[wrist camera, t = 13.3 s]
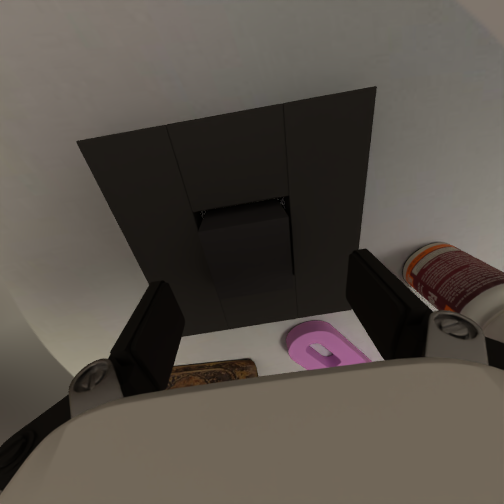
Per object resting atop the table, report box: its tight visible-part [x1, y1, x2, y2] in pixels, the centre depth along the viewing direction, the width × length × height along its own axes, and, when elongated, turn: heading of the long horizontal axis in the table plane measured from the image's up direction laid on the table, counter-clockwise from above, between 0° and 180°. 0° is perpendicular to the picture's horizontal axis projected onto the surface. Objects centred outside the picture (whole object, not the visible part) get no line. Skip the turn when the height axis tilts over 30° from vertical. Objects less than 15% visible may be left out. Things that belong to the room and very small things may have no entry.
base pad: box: [77, 86, 377, 337], centre depth 16 cm, size 16×16×2 cm
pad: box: [198, 198, 293, 300], centre depth 15 cm, size 5×5×4 cm
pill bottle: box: [403, 243, 504, 343], centre depth 16 cm, size 5×5×8 cm
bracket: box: [286, 320, 372, 370], centre depth 22 cm, size 13×6×7 cm, turn 43°
